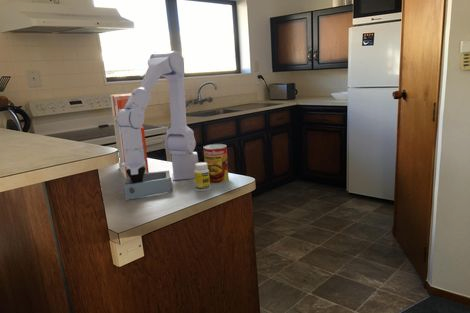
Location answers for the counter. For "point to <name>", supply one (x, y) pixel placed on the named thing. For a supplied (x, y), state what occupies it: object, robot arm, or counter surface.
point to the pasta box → (118, 104)
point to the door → (148, 188)
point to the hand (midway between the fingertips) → (138, 191)
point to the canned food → (216, 162)
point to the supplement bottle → (202, 177)
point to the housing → (151, 176)
